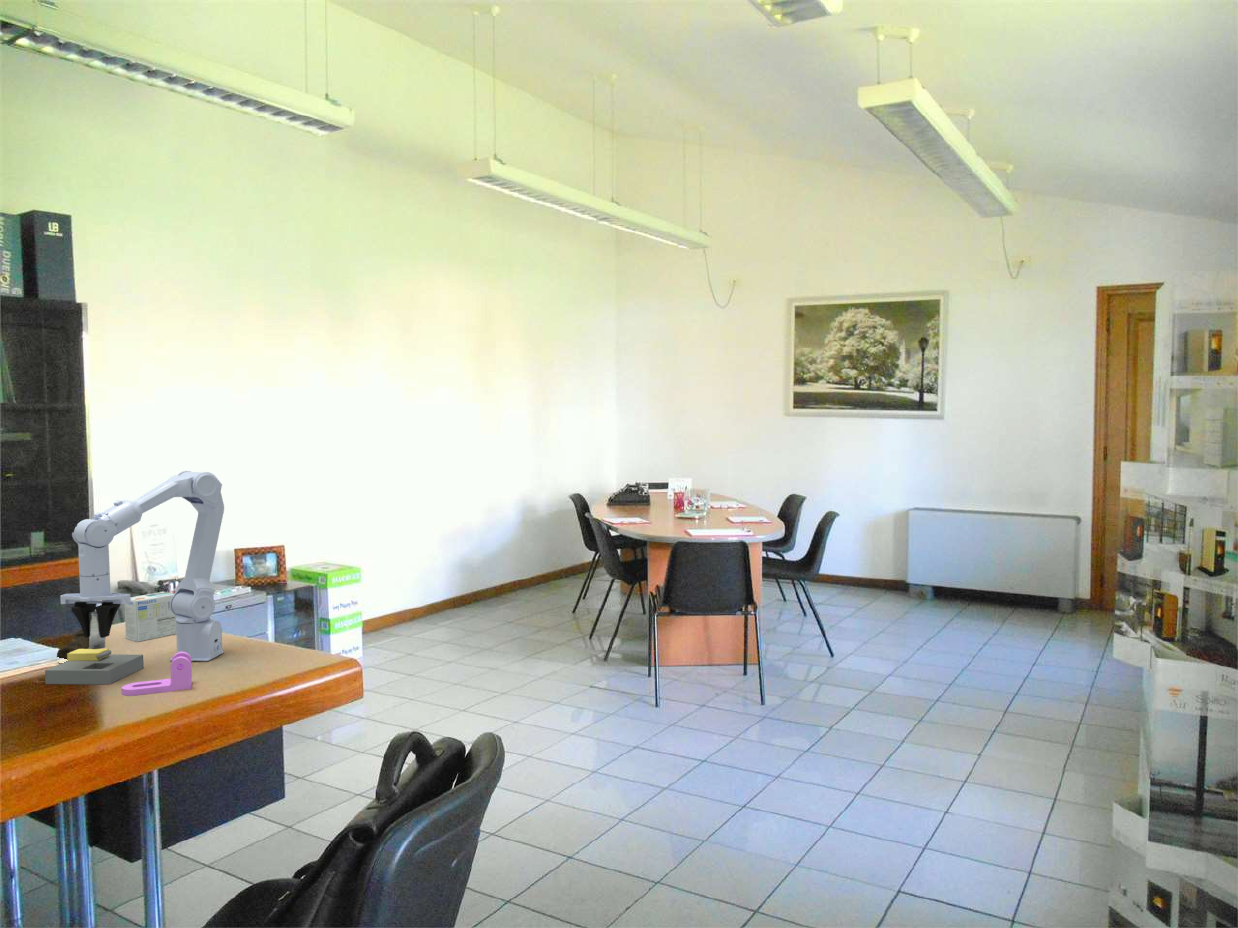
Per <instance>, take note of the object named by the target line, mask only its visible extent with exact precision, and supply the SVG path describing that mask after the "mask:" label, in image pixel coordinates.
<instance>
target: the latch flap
mask: <svg viewBox="0 0 1238 928" xmlns="http://www.w3.org/2000/svg"><path fill="white" fill-rule="evenodd" d="M110 654H112V650H110V649H109V648H101V649H90V648H88V649H77V650H75V651H72V652H70V653H67V660H68V661H98V660H100V659H103V658H105V657H107V656H109V655H110Z"/></svg>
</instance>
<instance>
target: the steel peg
mask: <svg viewBox="0 0 1238 928" xmlns="http://www.w3.org/2000/svg"><path fill="white" fill-rule="evenodd" d="M106 646H107V645H106V637H105V638H101V637H100V627H99V619H98V615H97V612H96V609H95V610H93V611H89V649H106Z"/></svg>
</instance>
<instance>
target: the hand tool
mask: <svg viewBox="0 0 1238 928" xmlns="http://www.w3.org/2000/svg"><path fill="white" fill-rule="evenodd" d="M89 648H90V639H89V637H88V638H85V636H84V633H83V630H82V629H80V630H79V631H76V632H75V634H74V638H73V639H72V640H71V641H70V642H69V643H67V644H66V645H65V646H64V647H63V648H58V650H57V653H56V658H57V657H59V658H64V659H67V653H70V652H72V651H75V650H77V649H89Z"/></svg>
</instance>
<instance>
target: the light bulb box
mask: <svg viewBox="0 0 1238 928" xmlns="http://www.w3.org/2000/svg"><path fill="white" fill-rule="evenodd" d="M174 594H175V593H172V592H166V591H159V592H154V593H148V594H144V595H143V594H142V595H136V596H131V603H128V604H123V605H124V606H123V607H124V621H125V639H126V640H130V641H133V642H136V643H138V642H143V641H147V640H153V639H158V638H162V637H163V638H164V637H168V636H172V635H176V617H175V614H173V613H172V611H171V610H170V600H171V598H172V596H173V595H174Z"/></svg>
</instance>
